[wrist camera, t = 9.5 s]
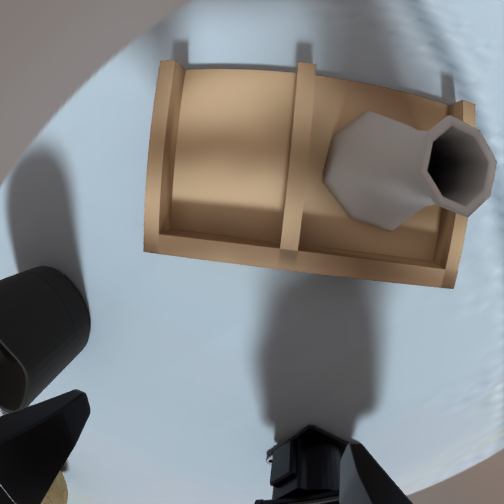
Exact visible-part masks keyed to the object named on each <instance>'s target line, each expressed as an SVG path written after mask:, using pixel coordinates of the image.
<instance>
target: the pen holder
mask: <svg viewBox="0 0 504 504" xmlns="http://www.w3.org/2000/svg"><path fill="white" fill-rule="evenodd" d="M89 332H90V326H89V317H88V312H87V309H86V306H85V303H84V301H83V299H82V297H81V295H80V293H79V292H78V290H77V289H76V287H75V286H74V285H73V284H72V282H71V281H70V280H69V279H68V278H67V277H66V276H64V275H63V274H62V273H60V272H59V271H57V270H55V269H53V268H50V267H44V266H42V267H36V268H33V269H30V270H27V271H24V272H21V273H18V274H16V275H13V276H10V277H7V278H5V279H2V280H0V408H1V409H3V410H4V411H6V412H8V413H12V412H15V411H18V410H21V409H24V408H26V407H28V406H29V404H30V403H31V402H32V401H33V400H34V399H35V398H36V397H37V396H38V395H39V394H40V393H41V392H42V391H43V390H44V389H45V388H46V387H47V386H48V385H49V384H50V383H51V382H52V381H53V380H54V379H55V378H56V377H57V375H58V374H59V373H60V372H61V371H62V370H63V369H64V368H65V367H66V366H67V365H68V364H69V363H70V362H71V361H72V360H73V359H74V358H75V357H76V356H77V355H78V354H79V353H80V352H81V351H82V350H83V348H84V347H85V346H86V344H87V342H88V338H89Z"/></svg>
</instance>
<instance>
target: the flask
mask: <svg viewBox="0 0 504 504" xmlns="http://www.w3.org/2000/svg"><path fill="white" fill-rule="evenodd" d="M496 163H497V161H496V159H495V157H494V155H493V154H492V152H491V150H490V148H489V146H488V144H487V143H486V141H485V139H484V137H483V136H482V134H481V132H480V130H478V129H476V128H474V127H472V126H471V125H469V124H467V123H465V122H463V121H461V120H459V119H457V118H455V117H453V116H451V115H449V116H447V117H446V118H444V119H443V120H442V121H441V122H439V123H438V124H437V125H436V126H434V127H433V128H432V129H431V130H429V131H422V130H416V129H414V128H413V127H411V126H409V125H406V124H404V123H401V122H399V121H396V120H393V119H391V118H388V117H385V116H382V115H380V114H377V113H374V112H371V111H368V110H367V111H366V112H364V113H363V114H362V115H360V116H359V117H358V118H356V119H355V120H354V121H352V122H351V123H350V124H348V125H347V126H346V127H344V128H343V129H342V130H340V131H339V132H338V133H336V134H335V135H334V136H333V138H332V143H331V147H330V151H329V155H328V159H327V163H326V167H325V171H324V175H323V179H322V182H323V183H324V184H325V186H326V187H327V188H328V189H329V191H330V192H331V193H332V195H333V196H334V197H335V199H336V200H337V201H338V203H339V204H340V205H341V207H342V208H343V209H344V211H345V212H346V213H347V215H348V216H349V217H350V219H353V220H357V221H360V222H363V223H367V224H370V225H373V226H377V227H380V228H383V229H386V230H389V231H393V230H394V229H396V228H397V227H398V226H399V225H401V224H402V223H403V222H404V221H406V220H407V219H408V218H409V217H411V216H412V215H414V214H415V213H417V212H418V211H419V210H421V209H422V208H424V207H426V206H431V205H435V204H436V205H437V206H440V207H442V208H445V209H447V210H450V211H452V212H455V213H457V214H460V215H462V216H464V217H469V216H470V215H471V214H472V213H473V212H474V211H475V210H476V209H477V208H478V207H479V206H480V205H482V204H483V203H484V202H485V201H486V200H487V199H488V198H489V197H490V195H491V190H492V185H493V180H494V175H495V169H496Z"/></svg>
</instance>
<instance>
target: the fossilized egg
mask: <svg viewBox="0 0 504 504" xmlns="http://www.w3.org/2000/svg"><path fill="white" fill-rule="evenodd" d="M67 499H68V490H67V484H66V481H65V479H64V476H63V474H62V472H61V471H60V472H59V473H58V475H57V477H56V478H55V480H54V482H53V483H52V485H51V487H50V489H49V490H48V492H47V494H46V496H45V497H44V499H43V501H42V503H41V504H67Z"/></svg>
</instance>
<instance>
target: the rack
mask: <svg viewBox="0 0 504 504" xmlns="http://www.w3.org/2000/svg"><path fill="white" fill-rule="evenodd" d="M315 72H316V64H311V63H302V62H298V72H297V73H291V72H280V71H266V70H246V69H190V70H186V69H185V68H184V67H182V66H181V65H180V64H179V63H178V62H177V61H176V60H166V61H160V67H159V73H158V79H157V85H156V92H155V99H154V107H153V114H152V123H151V132H150V141H149V152H148V163H147V177H146V192H145V213H144V252H149V253H157V254H164V255H171V256H179V257H186V258H194V259H201V260H209V261H217V262H225V263H232V264H240V265H248V266H256V267H264V268H272V269H280V270H289V271H297V272H305V273H313V274H322V275H330V276H339V277H348V278H356V279H365V280H374V281H383V282H392V283H401V284H410V285H420V286H429V287H439V288H449V289H454V285H455V282H456V278H457V273H458V267H459V262H460V257H461V253H462V248H463V243H464V237H465V232H466V226H467V220H468V217H464V216H462V215H460V214H457V213H455V212H452V211H450V210H447V209H445V208H442V207H440V206H437V205H436V204H435V205H431V206H426V207H424V208H422V209H421V210H419V211H418V212H417V213H415V214H414V215H412V216H411V217H409V218H408V219H407V220H406V221H404V222H403V223H402V224H401V225H399V226H398V227H397V228H396V229H394V230H393V231H389V230H386V229H383V228H380V227H377V226H373V225H370V224H367V223H363V222H360V221H357V220H353V219H350V217H349V216H348V215H347V213H346V212H345V211H344V209H343V208H342V207H341V205H340V204H339V203H338V201H337V200H336V199H335V197H334V196H333V195H332V193H331V192H330V191H329V189H328V188H327V187H326V186H325V184H324V183H323V182H322V179H323V175H324V171H325V167H326V163H327V159H328V155H329V151H330V147H331V143H332V138H333V136H334V135H335V134H336V133H338V132H339V131H340V130H342V129H343V128H344V127H346V126H347V125H348V124H350V123H351V122H352V121H354V120H355V119H356V118H358V117H359V116H360V115H362V114H363V113H364V112H366V111H367V110H368V111H371V112H374V113H377V114H380V115H382V116H385V117H388V118H391V119H393V120H396V121H399V122H401V123H404V124H406V125H409V126H411V127H413V128H414V129H416V130H422V131H429V130H431V129H432V128H433V127H434V126H436V125H437V124H438V123H439V122H441V121H442V120H443V119H444V118H446V117H447V116H449V115H451V116H453V117H455V118H457V119H459V120H461V121H463V122H465V123H467V124H469V125H471V126H472V127H474V128H475V104H473V103H471V102H468V101H465V100H461V101H459V102H456V103H454V104H451V105H446V104H443V103H440V102H437V101H434V100H430V99H427V98H424V97H420V96H417V95H413V94H409V93H405V92H401V91H397V90H393V89H389V88H385V87H380V86H376V85H371V84H366V83H361V82H356V81H350V80H344V79H338V78H332V77H325V76H317V75H315Z"/></svg>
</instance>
